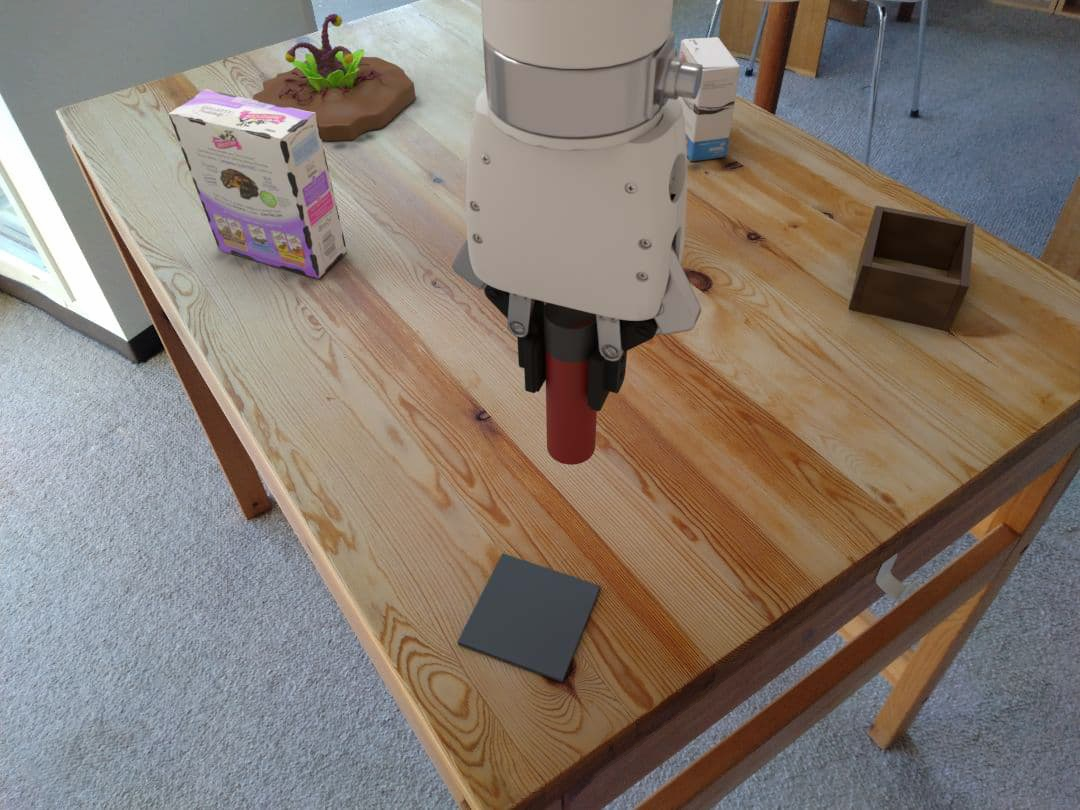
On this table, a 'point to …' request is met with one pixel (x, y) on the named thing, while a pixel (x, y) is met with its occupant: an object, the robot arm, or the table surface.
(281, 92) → the plant
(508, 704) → the table surface
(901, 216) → the wooden box
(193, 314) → the table surface
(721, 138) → the ink box
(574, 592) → the desk pad
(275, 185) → the candy box
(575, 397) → the marker pen
